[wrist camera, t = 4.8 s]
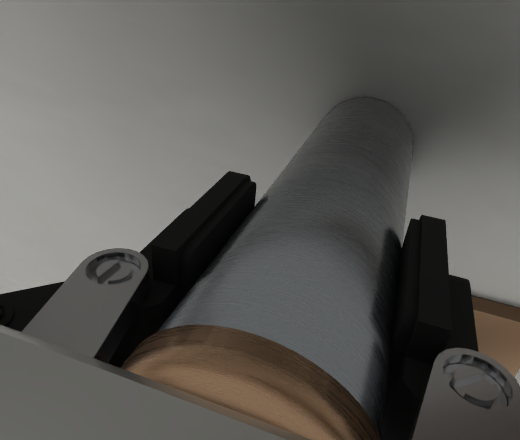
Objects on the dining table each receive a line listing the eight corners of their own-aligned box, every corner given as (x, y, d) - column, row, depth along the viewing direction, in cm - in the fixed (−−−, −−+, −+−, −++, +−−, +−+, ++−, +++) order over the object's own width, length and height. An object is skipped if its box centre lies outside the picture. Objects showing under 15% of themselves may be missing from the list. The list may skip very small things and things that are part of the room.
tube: (322, 86, 17) (-15, 413, 4) (428, 104, 16) (419, 605, 3) (307, 179, 20) (54, 587, 6) (401, 200, 19) (328, 736, 5)
